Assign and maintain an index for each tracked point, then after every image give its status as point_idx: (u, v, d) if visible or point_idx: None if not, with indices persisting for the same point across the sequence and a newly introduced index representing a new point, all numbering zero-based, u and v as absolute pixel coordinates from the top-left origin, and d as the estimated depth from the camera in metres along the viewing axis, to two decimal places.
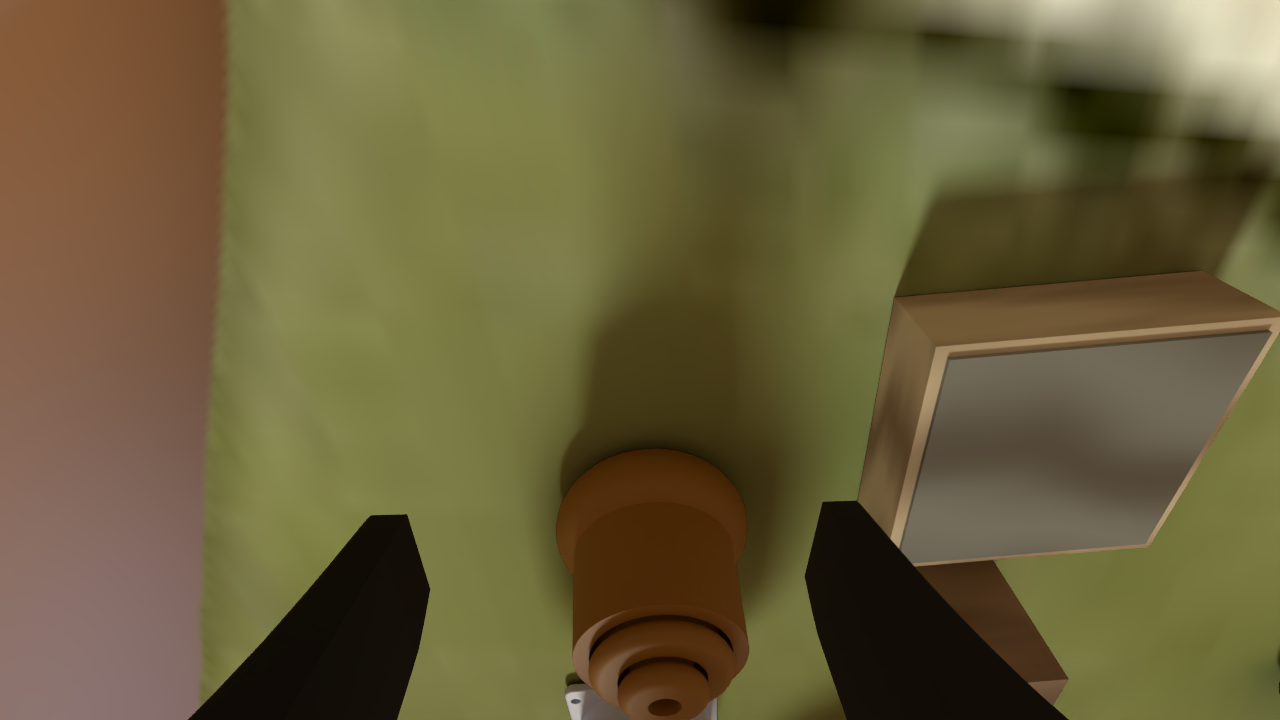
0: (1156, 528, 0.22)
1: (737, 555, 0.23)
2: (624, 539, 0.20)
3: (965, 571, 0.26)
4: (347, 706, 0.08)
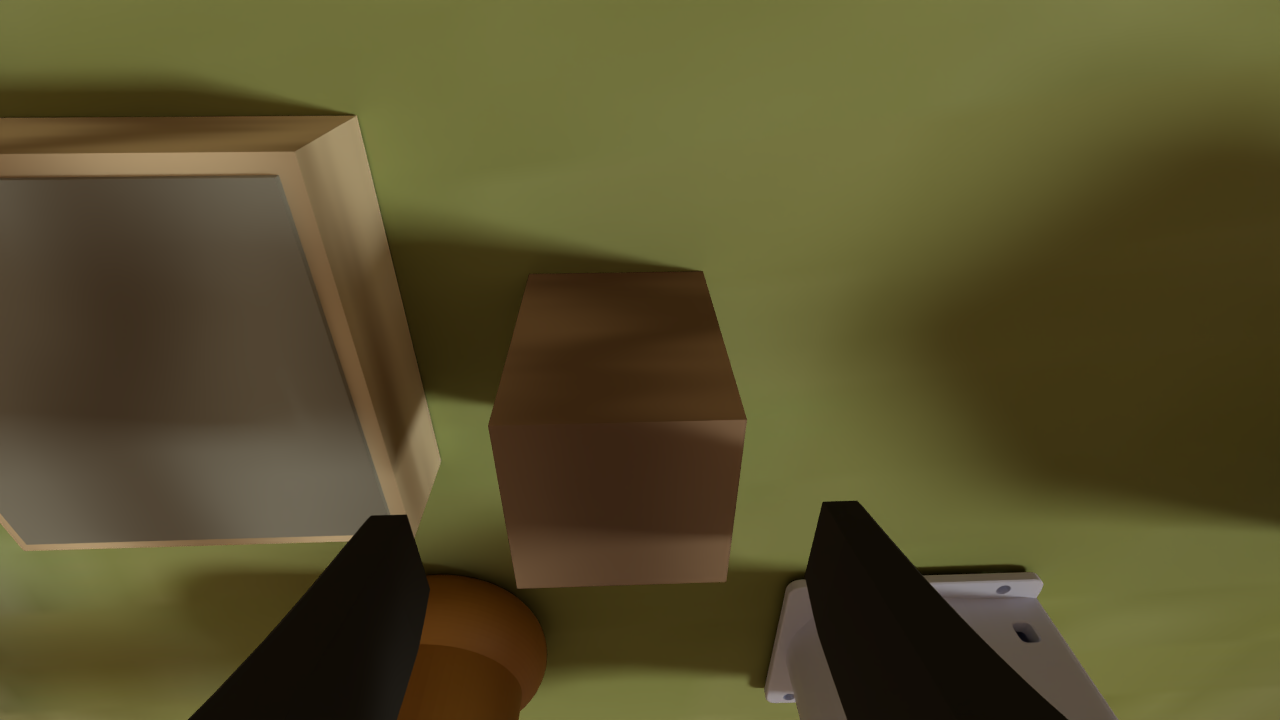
0: (236, 160, 0.10)
1: (434, 635, 0.19)
2: None
3: None
4: (347, 706, 0.08)
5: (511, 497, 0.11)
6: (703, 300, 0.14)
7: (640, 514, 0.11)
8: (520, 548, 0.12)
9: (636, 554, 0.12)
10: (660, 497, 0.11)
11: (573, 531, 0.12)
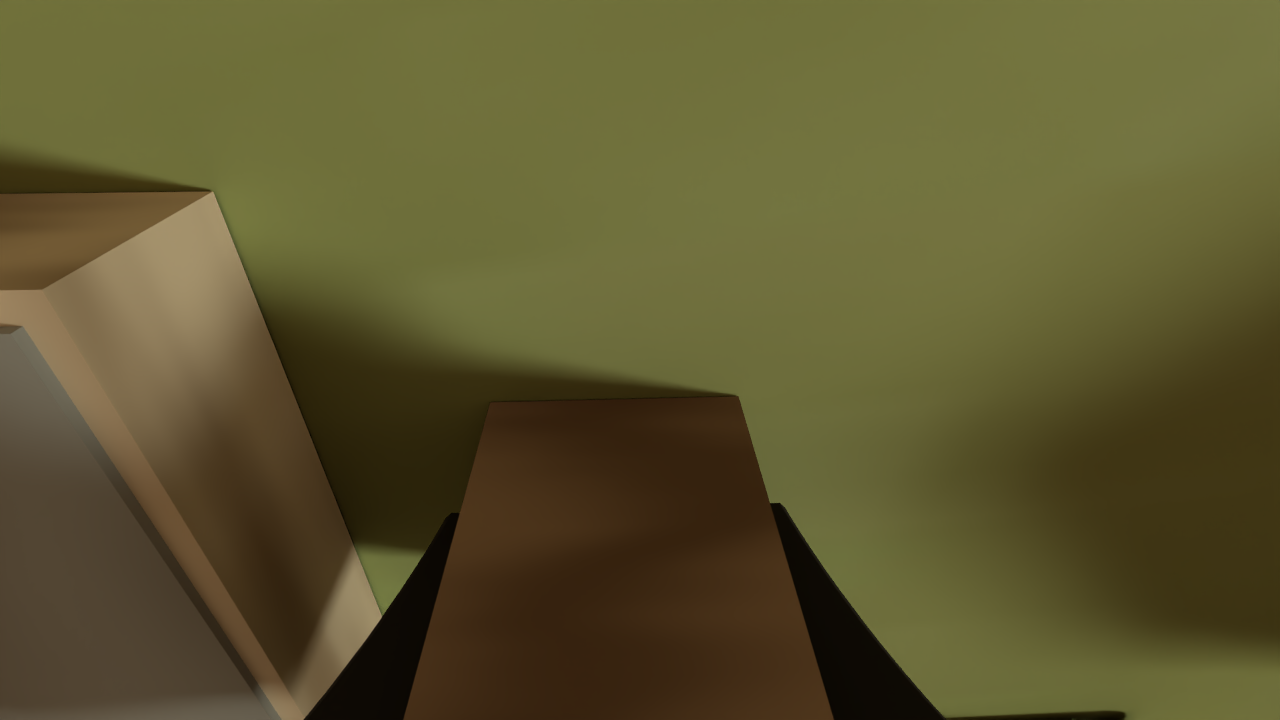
0: None
1: None
2: None
3: None
4: None
5: None
6: (744, 458, 0.09)
7: None
8: None
9: None
10: None
11: None
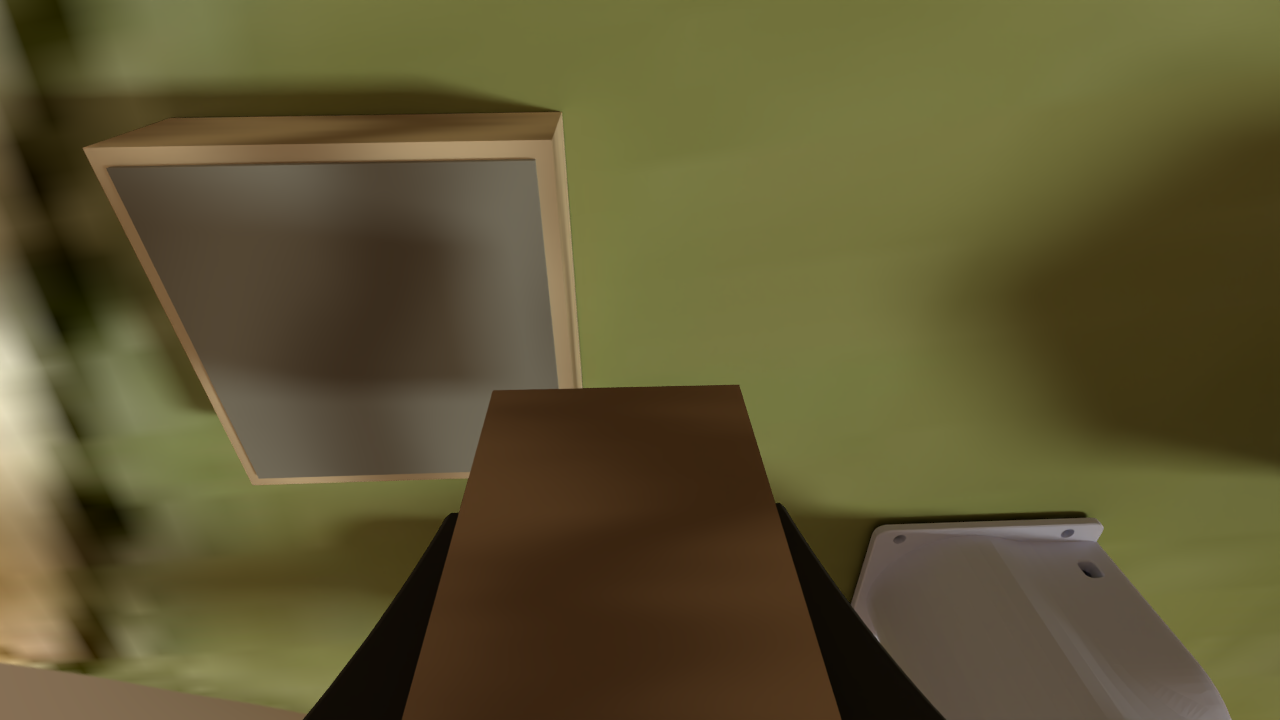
0: (504, 147, 0.13)
1: None
2: None
3: None
4: None
5: None
6: (745, 444, 0.09)
7: None
8: None
9: None
10: None
11: None
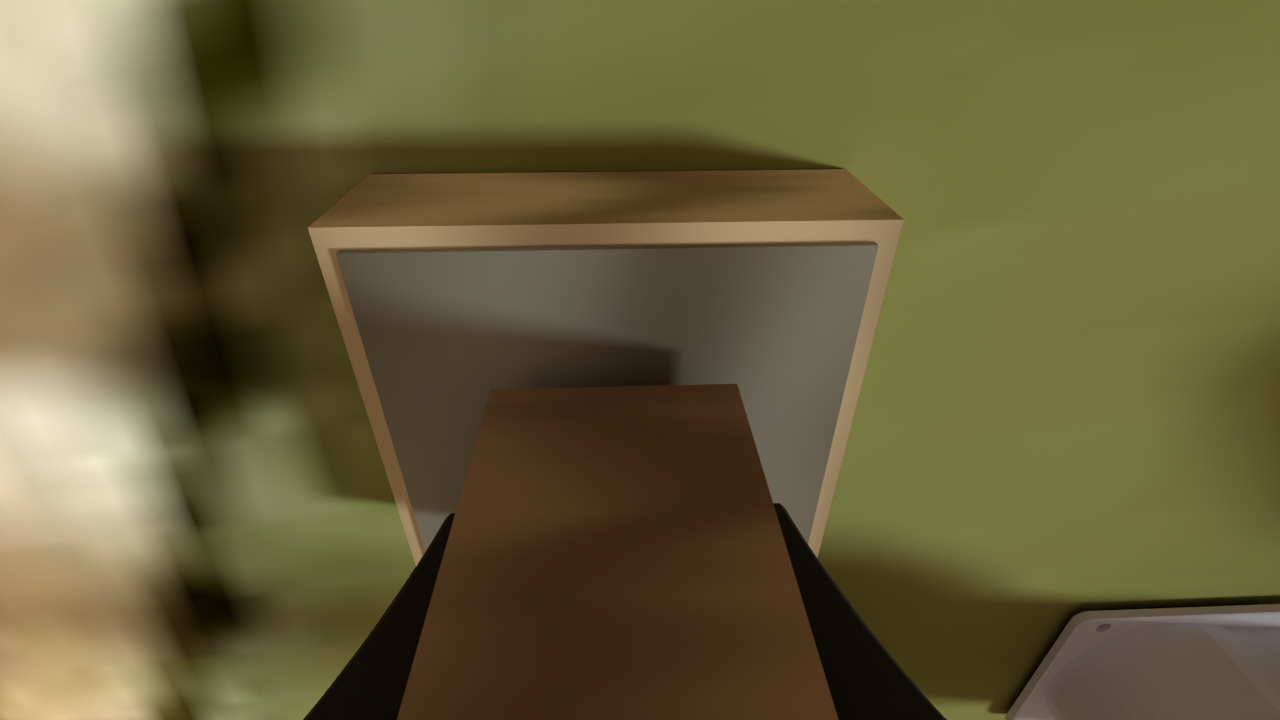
0: (842, 228, 0.10)
1: None
2: None
3: None
4: None
5: None
6: (743, 443, 0.09)
7: None
8: None
9: None
10: None
11: None
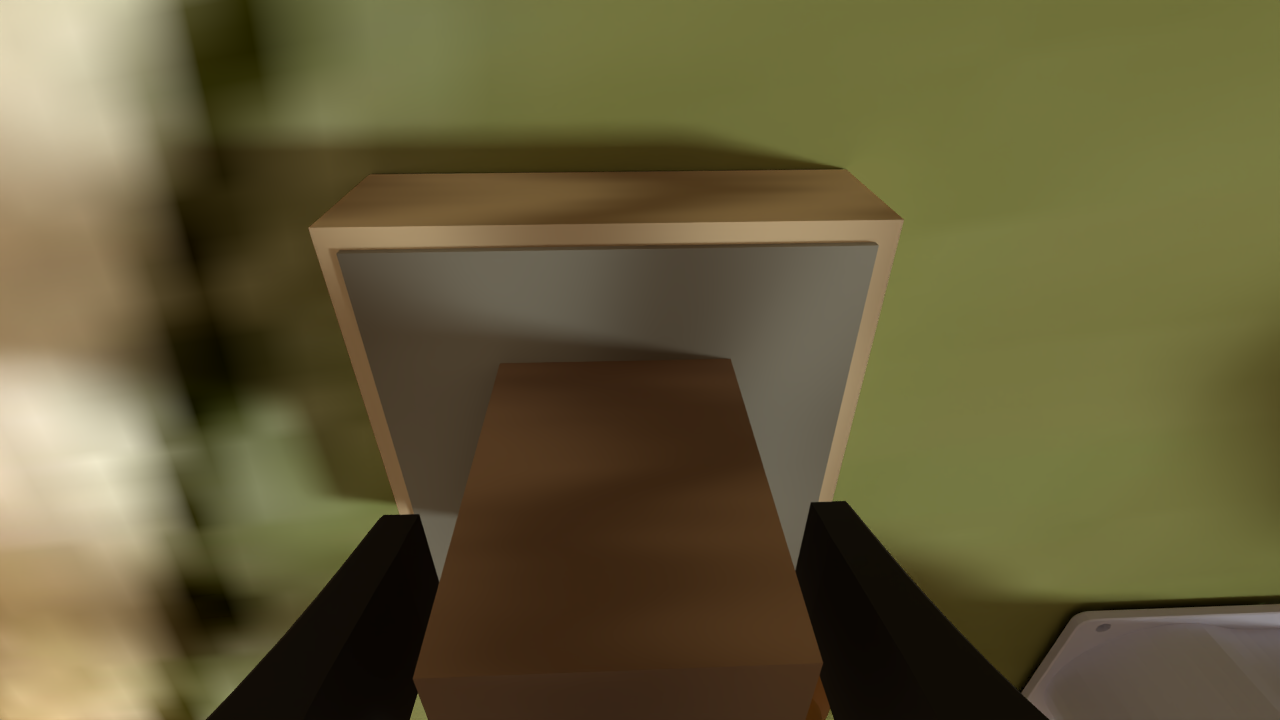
0: (841, 228, 0.10)
1: None
2: None
3: None
4: (363, 705, 0.08)
5: None
6: (735, 411, 0.10)
7: None
8: None
9: None
10: None
11: None
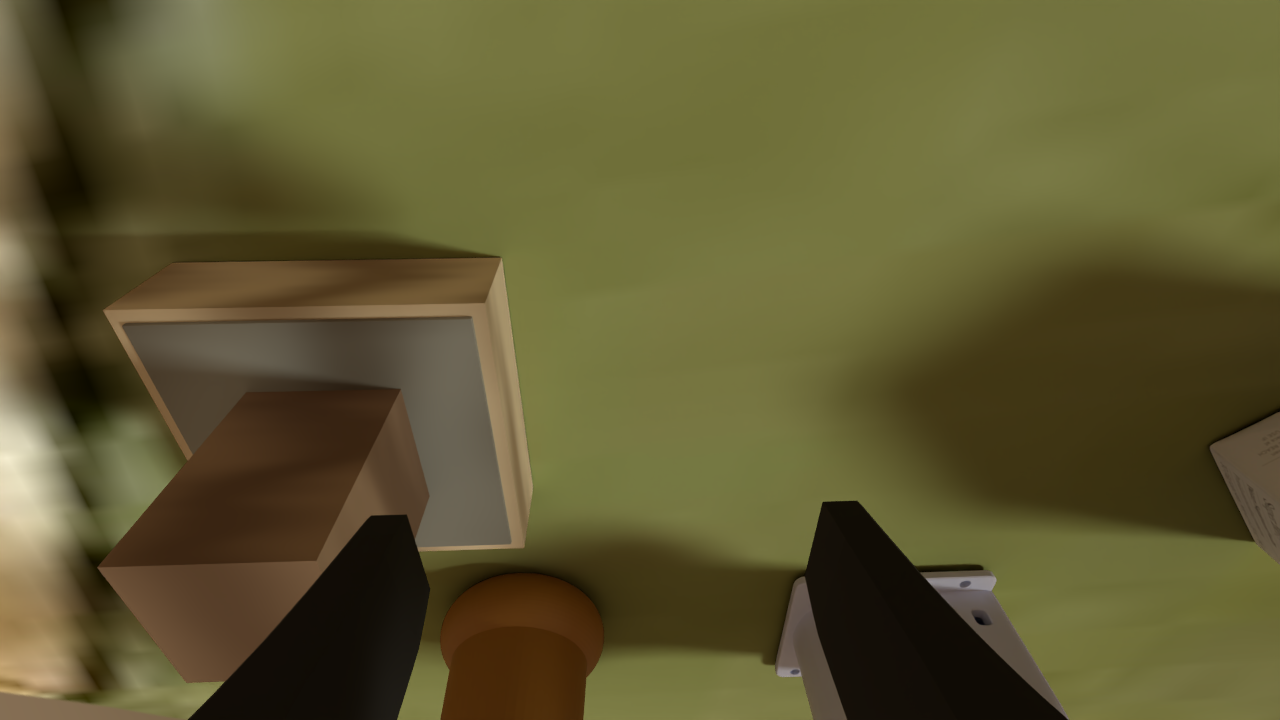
0: (446, 308, 0.16)
1: (524, 619, 0.25)
2: None
3: None
4: (347, 706, 0.08)
5: (145, 617, 0.13)
6: (376, 424, 0.16)
7: (263, 627, 0.14)
8: (172, 653, 0.14)
9: None
10: (275, 615, 0.13)
11: (213, 641, 0.14)
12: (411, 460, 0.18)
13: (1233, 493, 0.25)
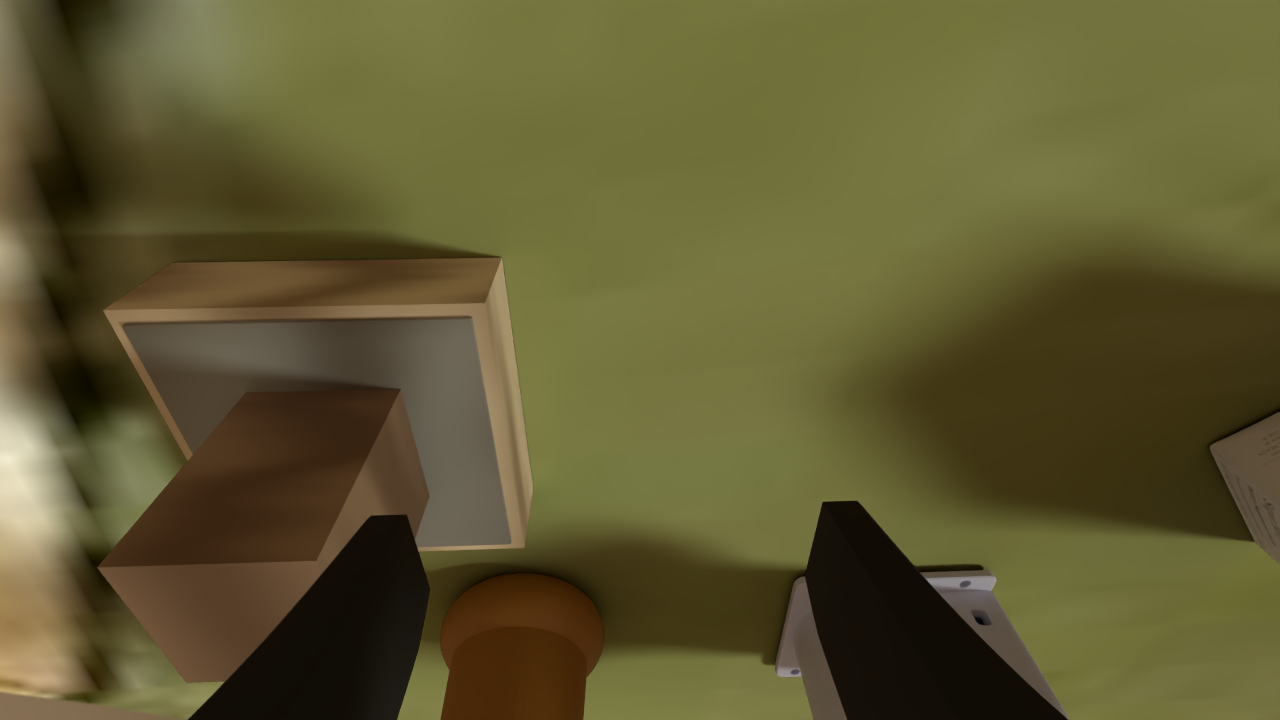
0: (446, 308, 0.16)
1: (524, 619, 0.25)
2: None
3: None
4: (347, 706, 0.08)
5: (145, 617, 0.13)
6: (376, 424, 0.16)
7: (263, 627, 0.14)
8: (172, 653, 0.14)
9: None
10: (275, 615, 0.13)
11: (213, 641, 0.14)
12: (411, 460, 0.18)
13: (1233, 493, 0.25)
